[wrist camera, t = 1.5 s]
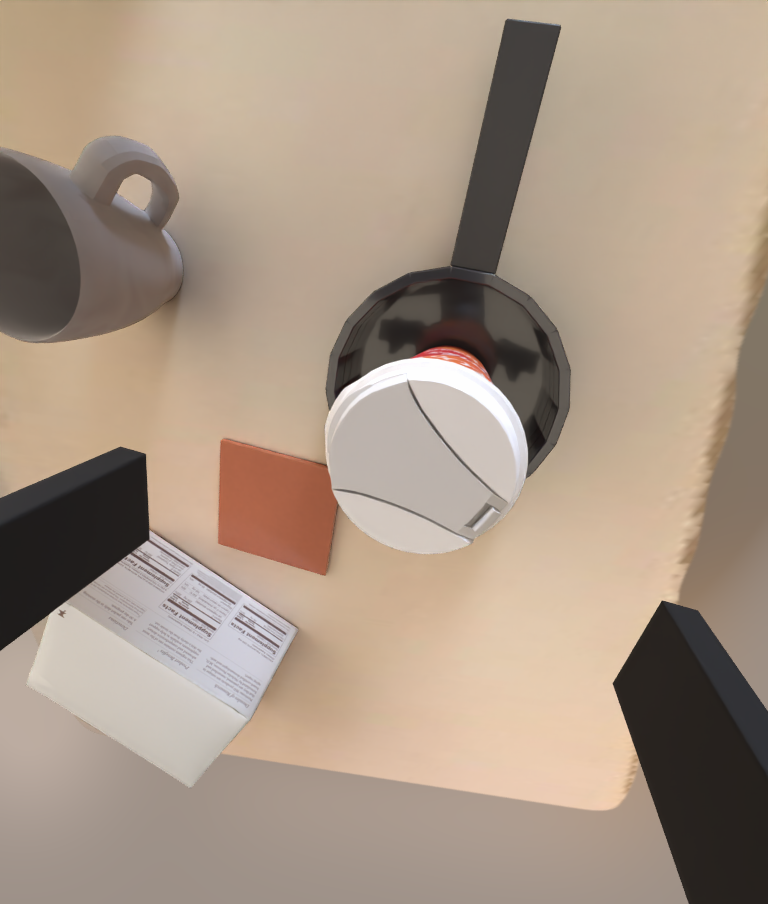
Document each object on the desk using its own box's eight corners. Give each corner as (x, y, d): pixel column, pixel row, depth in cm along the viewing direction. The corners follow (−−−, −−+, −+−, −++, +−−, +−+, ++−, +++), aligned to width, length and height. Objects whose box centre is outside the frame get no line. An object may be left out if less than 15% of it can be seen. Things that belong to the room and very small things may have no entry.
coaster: (223, 438, 33) (220, 440, 32) (343, 469, 31) (341, 472, 31) (221, 540, 37) (217, 544, 36) (327, 572, 35) (325, 576, 35)
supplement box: (111, 608, 43) (21, 686, 35) (148, 525, 38) (52, 593, 29) (245, 696, 44) (188, 795, 35) (300, 627, 38) (250, 724, 30)
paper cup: (531, 374, 26) (585, 456, 13) (457, 463, 29) (441, 599, 16) (430, 301, 25) (382, 312, 13) (366, 399, 29) (276, 486, 16)
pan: (360, 250, 26) (343, 245, 22) (594, 296, 24) (612, 297, 21) (331, 455, 31) (314, 474, 28) (518, 504, 29) (523, 530, 26)
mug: (159, 353, 31) (34, 378, 22) (73, 255, 30) (-98, 240, 21) (261, 237, 26) (153, 210, 18) (164, 114, 25) (-5, 20, 16)
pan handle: (504, 30, 19) (506, 17, 18) (558, 37, 18) (562, 23, 18) (451, 266, 23) (450, 265, 22) (494, 275, 22) (495, 274, 21)
